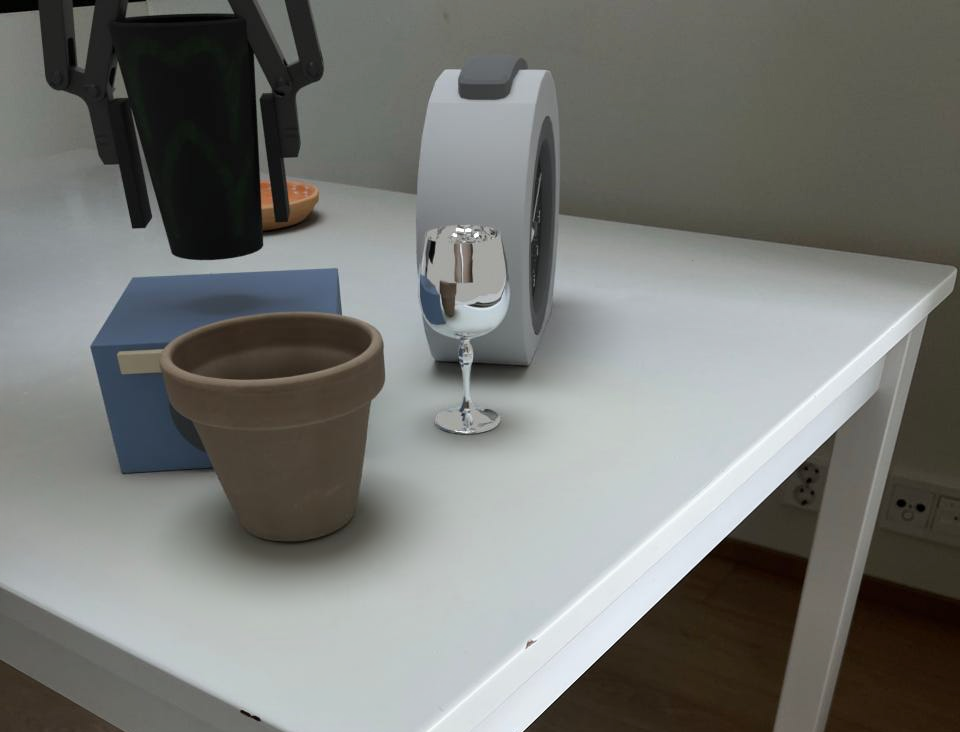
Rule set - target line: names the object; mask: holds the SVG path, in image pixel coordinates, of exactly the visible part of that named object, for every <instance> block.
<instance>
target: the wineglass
mask: <svg viewBox="0 0 960 732" xmlns="http://www.w3.org/2000/svg"><path fill="white" fill-rule="evenodd" d="M417 295H418V303H419V307H420V311H421V315H422V314H423V316H424V318H425V320H426V322H427V323H428V324H429V325H430V326H431V328H432V329H434V330H435V331H437V332H438V333H440V334H442V335H444V336H446V337H449V338H452V339H456V340H461V345H460V346H459V353H458V356H459V362H458V363H459V364H460V367H461V368H460V369H461V372H462V385H463V387H462V389H463V391H462V392H463V393H462V395H463V397H462V402H461V405H459V406H455V407H451V408H447V409H444V410H442V411H441V412H439V413H438V414H436V416H435V418H434V424H435V426H436V427H437V428H439V429H440V430H442V431H444V432H449V433H452V434H458V435H472V434H473V435H474V434H480V433H485V432H488V431H491V430H493V429H495V428H497V427H498V426H499V425H500V423H501V416H500V414H499V413H498V412H496V411H494V410H492V409H490V408H487V407H483V406H476V405H474V403H473V401H472V396H471V372H472V364H473V363H472V362H473V355H474V354H473V348H472V346H471V344H470V340H472V339H477V338H480V337H482V336H485V335H487V334H489V333H491V332H492V331H494V330H495V329H496V328H497V327H498V326H499V325H500V324H501V323H502V321H503V320H504V318H505V316H506V314H507V311H508V308H509V301H510V276H509V268H508V262H507V257H506V253H505V248H504V244H503V240H502V236H501V232H500V231H499V230H497V229H495V228H492V227H487V226H481V225H451V226H444V227H438V228H435V229H432V230H429V231H427V232H426V233H425V236H424V241H423V247H422V252H421V258H420V265H419V275H418V274H417Z"/></svg>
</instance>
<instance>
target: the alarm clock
mask: <svg viewBox="0 0 960 732" xmlns="http://www.w3.org/2000/svg"><path fill="white" fill-rule="evenodd" d="M528 68H529V65H528V62H527V61H526V60H525V59H524V58H523V57H522V56H521V55H520V54H487V53H486V54H480V53H479V54H478V53H477V54H473V55H472V56H471V57H469V58H468V60H466V61H465V62H464V65H463V66H462V68H459V69H457V68H456V69H453V68H451V69H448V68H447V69H444V70H443V71H442V73H440V75H439V76H438V78H437V79H436V80H435V82H434V84H433V88H432V91H431V94H430V98H429V100H428V103H427V108H426V113H425V119H424V124H423V129H422V130H423V131H422V133H421V142H420V150H419V161H418V171H417V183H416V185H417V187H416V208H415V210H416V211H415V238H416V239H415V240H416V242H415V243H416V244H415V245H416V248H415V249H416V272H417V276H418V275H419V265H420V258H421V252H422V247H423V241H424V236H425V233H426V232H427V231H429V230H432V229H435V228H438V227H444V226H451V225H481V226H487V227H492V228H495V229H497V230H499V231H500V232H501V236H502V240H503V244H504V248H505V253H506V257H507V262H508V268H509V276H510V301H509V308H508V311H507V314H506V316H505V318H504V320H503V321H502V323H501V324H500V325H499V326H498V327H497V328H496V329H495V330H494V331H492V332H491V333H489V334H487V335H485V336H482V337H480V338H477V339H472V340H470V344H471V346H472V348H473V354H474V355H473V362H472V364H489V365H509V366H530V365H531V364H532V361H533V359H534V356H535V353H536V351H537V349H538V346H539V343H540V342H541V338H542V336H543V333H544V331H545V328H546V326H547V323H548V321H549V319H550V316H551V314H552V313H551V312H552V306H553V298H554V291H555V290H554V287H555V280H556V279H555V277H556V267H557V254H558V241H559V223H560V222H559V220H560V197H561V196H560V194H561V193H560V191H561V190H560V187H561V180H560V179H561V149H560V148H561V144H560V143H561V142H560V141H561V139H560V134H561V133H560V120H559V119H560V118H559V106H558V98H557V89H556V84H555V81H554V78H553V75H552V72H551V70H546V69H528ZM421 317H422V322H423V329H424V334H425V338H426V341H427V345H428V347H429V352H430V354H431V356H432V358H433V359H434V361H436V362H449V363H450V362H451V363H460V362H459V356H458V353H459V346H460V345H461V340H456V339H452V338H449V337H446V336H444V335H442V334H440V333H438V332H437V331H435V330H434V329H432V328H431V326H430V325H429V324H428V323H427V322H426V320H425V318H424V316H423V314H422V313H421Z"/></svg>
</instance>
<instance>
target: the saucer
mask: <svg viewBox="0 0 960 732" xmlns="http://www.w3.org/2000/svg"><path fill="white" fill-rule="evenodd" d="M286 182H287V190H288V198H289V207H290V215H289V220H288V222H275V216H274V208H273V200H272V193H271V185H270V179H260V186H261V206H262V227H263V232H264V231H272V230H279V229H282V228H288V227H291V226H294V225H297V224H299V223H301V222H303V221H305V219H307V217H308V216H309V215H310V213H311V211H313V210H314V209H315V207H316V205H317V204H318V203H319V201H320V190H319V189H318V188H317V187H316V186H314V185H312V184H310V183H306V182H301V181H293V180H286Z"/></svg>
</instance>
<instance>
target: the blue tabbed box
mask: <svg viewBox="0 0 960 732" xmlns="http://www.w3.org/2000/svg"><path fill="white" fill-rule="evenodd" d="M340 286H341V285H340V277H339V268H338V267H329V268H328V267H327V268H307V269H288V270H287V269H285V270H263V271H243V272H221V273H219V272H218V273H200V274H199V273H198V274H180V275H179V274H178V275H175V274H174V275H155V276H133V277H132V278H131V279H130V281H129V283H128V284H127V285H126V288H125V289H124V291H123V292H122V293H121V296H120V297H119V299H118V300H117V302H116V304H115V305H114V307H113V308H112V310H111V312H110V313H109V315H108V317H107V318H106V320H105V322H104V323H103V325H102V326H101V328H100V329H99V332H97V334H96V336H95V337H94V339H93V340H92V343H91V344H90V347H89V348H90V352H91V356H92V360H93V363H94V364H93V365H94V368H95V371H96V376H97V380H98V384H99V388H100V392H101V396H102V400H103V403H104V404H103V405H104V407H105V413H106V416H107V421H108V425H109V429H110V432H111V436H112V437H111V438H112V441H113V445H114V450H115V453H116V457H117V461H118V465H119V469H120V473H121V474H129V473H130V474H132V473H147V472H165V471H180V470H181V471H182V470H199V469H214V468H213V465H212V463H211V461H210V459H209V456H208V454H207V452H206V449H205V447H204V445H203V443H202V440H201V438H200V436H199V434H198V432H197V430H196V428H195V426H194V424H193V422H192V420H190V419H188V418H186V417H184V416H183V415H181V414H180V413H179V412H178V411H176V410H175V409H174V407H173V406H172V405H171V403H170V400H169V397H168V393H167V390H166V386H165V382H164V378H163V373H162V371H161V369H160V364H159V358H160V354H161V352H162V351H163V349H164V348H165V347H166V346H167V345H168V344H169V343H170V342H171V341H173V340H174V339H176V338H177V337H179V336H181V335H183V334H185V333H187V332H189V331H192V330H194V329H196V328H199V327H202V326H205V325H208V324H212V323H215V322H219V321H223V320H227V319H232V318H237V317H243V316H249V315H257V314H264V313H277V312H320V313H330V314H337V315H343V307H342V298H341V288H340Z"/></svg>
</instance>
